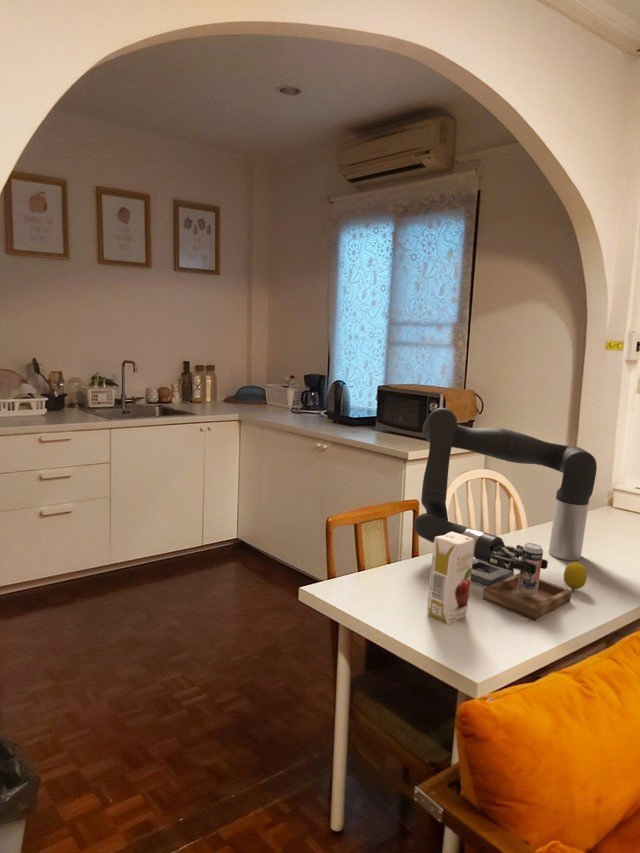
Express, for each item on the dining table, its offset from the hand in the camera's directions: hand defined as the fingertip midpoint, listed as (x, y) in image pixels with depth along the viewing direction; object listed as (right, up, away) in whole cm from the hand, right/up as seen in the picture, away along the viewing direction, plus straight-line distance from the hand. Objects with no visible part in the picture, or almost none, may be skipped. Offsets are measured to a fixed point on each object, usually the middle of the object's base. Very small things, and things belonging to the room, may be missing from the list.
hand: (540, 567), depth 152 cm
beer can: (-2, -7, +3) cm, 8 cm away
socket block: (-10, -6, +18) cm, 22 cm away
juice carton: (-25, -10, -8) cm, 28 cm away
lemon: (+13, -9, +12) cm, 20 cm away
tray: (-2, -9, +3) cm, 10 cm away
